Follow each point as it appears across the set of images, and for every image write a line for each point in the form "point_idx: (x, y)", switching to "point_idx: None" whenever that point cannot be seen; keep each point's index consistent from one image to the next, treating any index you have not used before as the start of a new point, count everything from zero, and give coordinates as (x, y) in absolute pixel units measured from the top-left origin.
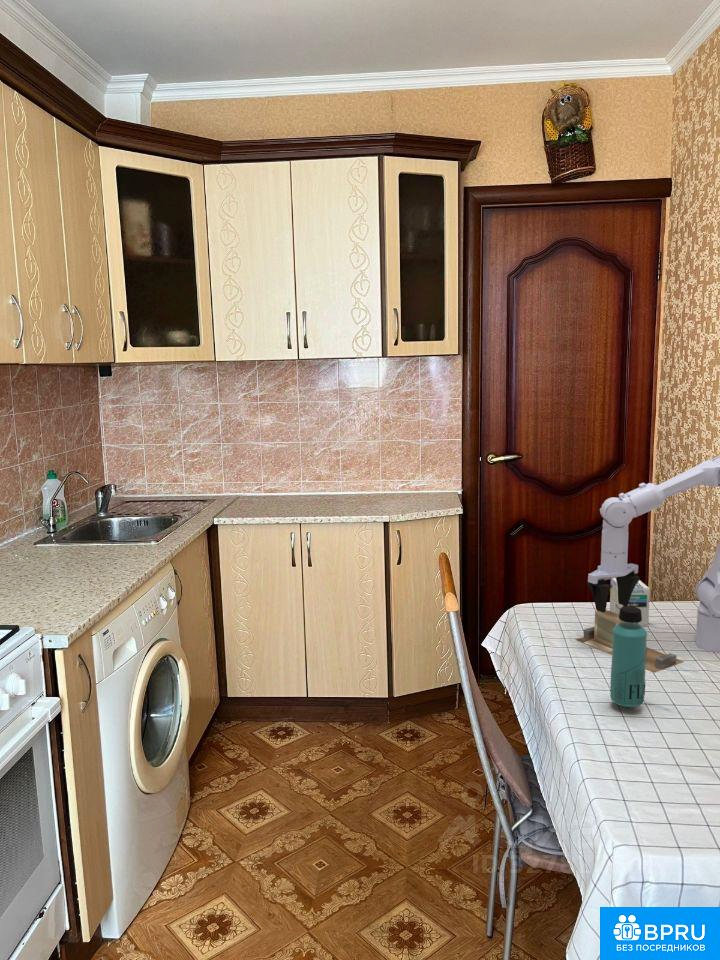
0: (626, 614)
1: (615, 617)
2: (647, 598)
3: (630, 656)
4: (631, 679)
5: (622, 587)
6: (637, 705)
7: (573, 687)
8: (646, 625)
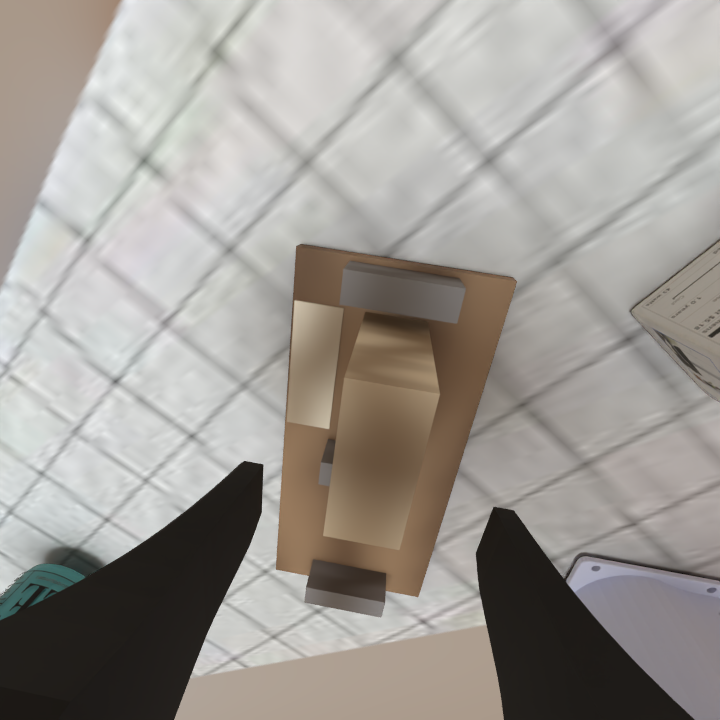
0: None
1: (344, 508)
2: None
3: None
4: None
5: (537, 682)
6: None
7: (21, 451)
8: (718, 400)
